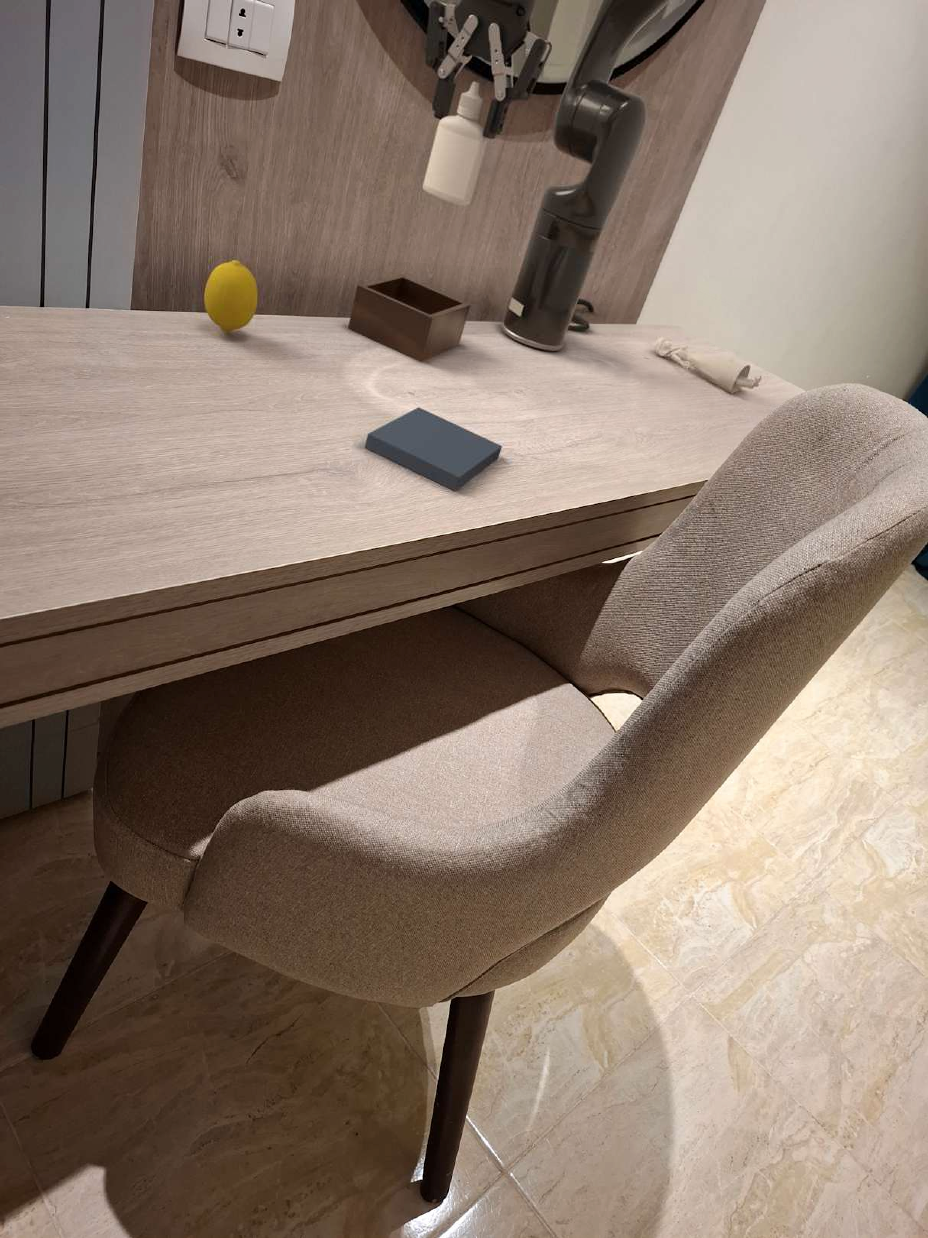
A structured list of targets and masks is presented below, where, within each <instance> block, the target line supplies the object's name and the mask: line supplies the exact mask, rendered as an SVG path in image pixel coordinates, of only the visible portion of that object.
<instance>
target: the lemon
mask: <svg viewBox="0 0 928 1238" xmlns="http://www.w3.org/2000/svg"><path fill="white" fill-rule="evenodd" d="M257 286H258V285H257V281H256V278H255V277H254V275H253V274H252V272H251V271H250V269H248V268H247V267H246V266H244V265H243V264H242V263H241V262H240V260H237V259H233V260H232V261H228V262H224V263H221V264H219V265H217V266H216V267H215V268H214V269H213V270H212V272H211V273H210V275H209V276H208V279H207V282H206V285H205V289H204V295H203V296H204V298H203V299H204V307H205V310H206V314H207V315H208V317H209V319H210V320H211V321H212V322H213V323H214V324H215V326H218V327H219V328H220V329H221V331H222V332H223V333H224V334H230V333H232V332H233V331H236V330H240V329H243V328H244V327H246V326H247V325H248V324H249V323H250V322H251V320H252V319H253V318H254V316H255V315H256V310H257V307H258V298H259V296H258V287H257Z"/></svg>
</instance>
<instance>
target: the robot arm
mask: <svg viewBox="0 0 928 1238" xmlns="http://www.w3.org/2000/svg"><path fill="white" fill-rule="evenodd" d="M670 1H671V0H601V1H600V4H599V6H598V9H597V11H596V15H595V17H594V18H593V22H592V24H591V27H590V29H589V32H588V34H587V36H586V38H585V40H584V43H583V46H582V48H581V50H580V52H579V55H578V57H577V59H576V62H575V64H574V67H573V68H572V71H571V73H570V76H569V78H568V80H567V82H566V85H565V88H564V89H563V93H562V95H561V97H560V99H559V103H558V105H557V109H556V113H555V117H554V121H553V127H552V139H553V143H554V145H555V147H556V149H557V150H558V151H559V152H562V153H563V154H565V155H567V156H569V157H571V158H574V159H576V160H577V161H581V162H583V163H586V164H588V165H590V167H589V168H588V171H587V173H586V175H585V177H584V178H583V179H582V180H580V181H578V182H574V183H569V184H568V183H564V184H562V183H561V184H551V185H548V187H547V188H546V189H545V191H544V193H543V196H542V200H541V203H540V206H539V209H538V213H537V215H536V219H535V222H534V225H533V229H532V232H531V234H530V238H529V242H528V245H527V247H526V249H525V250H526V251H525V253H524V257H523V260H522V263H521V266H520V270H519V273H518V275H517V279H516V281H515V285H514V288H513V292H512V295H511V297H510V301H509V304H508V307H507V310H506V313H505V316H504V319H503V320H502V324H501V325H500V326H501V331H502V332H503V333H504V334H505V335H506V336H508V337H509V338H511V339H513V340H514V341H516V342H519V343H521V344H523V345H526V346H529V347H532V348H534V349H538V350H541V351H542V350H543V351H550V352H551V351H552V352H554V351H555V352H557V351H560V350H562V349H563V345H564V343H565V338H566V335H567V334H568V333H567V332H568V331H570V332H585V331H587V330H589V329H590V326H591V325H590V323H589V321H587V319H584V318H583V317H582V316H580V315H578V314H576V313H575V312H576V308H577V306H578V305H579V306H584V307H586V308H587V309H588V312H590V313H594V312H595V309H594V306H593V304H592V303H591V302H590V301H589V300H587V299H583V298H580V296H581V294H582V291H583V289H584V285H585V282H586V281H587V277H588V275H589V272H590V269H591V267H592V264H593V261H594V258H595V255H596V253H597V249H598V246H599V244H600V241H601V238H602V236H603V233H604V230H605V227H606V224H607V221H608V219H609V217H610V215H611V213H612V212H613V209H614V208H615V206H616V204H617V202H618V200H619V197H620V195H621V192H622V190H623V187H624V185H625V183H626V182H625V181H626V180H627V177H628V174H629V173H630V169H631V168H632V165H633V163H634V161H635V158H636V156H637V153H638V151H639V148H640V146H641V143H642V140H643V138H644V134H645V130H646V127H647V122H648V121H647V120H648V108H647V104H646V101H645V100H644V99H643V98H642V97H641V96H639V95H637V94H635V93H633V92H630V91H628V90H625V89H623V88H620V87H617V86H615V85H612V84H609V81H610V78H611V76H612V74H613V71H614V69H615V67H616V65H617V63H618V61H619V59H620V58H621V55H622V53H623V52H624V50H625V49H626V47H627V46H628V44H629V43H630V41H631V40H632V39H633V38H634V37H635V35H636V34H637V33H638V32H640V30H641V29H642V28H643V27H644V26H645V25H646V24H648V22H649V21H650V20H651V19H652V18H654V17H655V16H656V15H657V14H658V13H659V12H660V11H661V10H663V8H664V7H665V6H667V4H668V3H670ZM535 4H536V0H457V2H456V3H455V4H450V3H449V4H448V3H444V2H442V1H438V0H432V1H431V2H430V4H429V9H428V10H429V11H428V20H427V32H426V43H425V54H424V55H425V57H424V63H425V65H426V66H427V67H429V68H431V69H432V70H433V71H434V72H435V73H436V75H437V82H436V88H435V91H434V96H433V100H432V104H431V106H432V107H431V108H432V109H431V110H432V111H433V113H434V114H433V116H434V118H435V119H438V120H439V121H440V120H441V119H442V118H444V117H446V116H449V114H450V110H451V106H452V103H453V99H454V94H455V90H456V88H457V87H456V86H457V83H456V82H455V80H456V78H457V77H458V76H459V74H460V72H461V71H462V69H463V68H464V66H465V65H467V64H468V63H469V62H470V61H471V60H472V57H476V58H481V59H482V60H484V61H485V62H488V63H490V64H491V74H492V76H493V84H494V97H495V98H491V101H490V106H489V108H488V113H487V116H486V120H485V124H484V127H483V129H484V131H483V136H484V137H486V138H487V139H490V140H494V139H496V136H497V135H500V134H501V133H502V131H503V129H504V127H505V123H506V122H505V121H506V118H507V114H508V112H509V108H510V106H511V104H512V103H514V102H521V101H523V102H526V101H528V100H529V99H530V97H531V95H532V93H533V91H534V89H535V86H536V84H537V82H538V80H539V78H540V75H542V72H543V70H544V67H545V66H546V63H547V61H548V59H549V57H550V55H551V52H552V51H553V45H552V42H550V41H549V40H545V39H543V38H540V37H539V36H537V35H535V34H534V33H533V32H531V16H532V13H533V11H534V8H535ZM454 20H455V23H456V27H457V31H458V35H457V36H456V38H455V39H454V40H453V42H452V44H451V46H449V48H448V51H447V39H448V31H449V30H448V29H449V28H450V27H451V26H452V24H453V21H454ZM523 45H525V50H524V55H525V58H526V59H525V62H524V64H523V66H522V67H521V71H520V73H519V74H518V77H517V78H516V81H515V84H514V76H515V63H514V54H515V53H516V52H517V51H518V50H519V49H520V48H521V47H523ZM446 51H447V55H446ZM572 320H574V321H575V322H577V323H579V324H581V325H573V324H572V325H571V322H572Z"/></svg>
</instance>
